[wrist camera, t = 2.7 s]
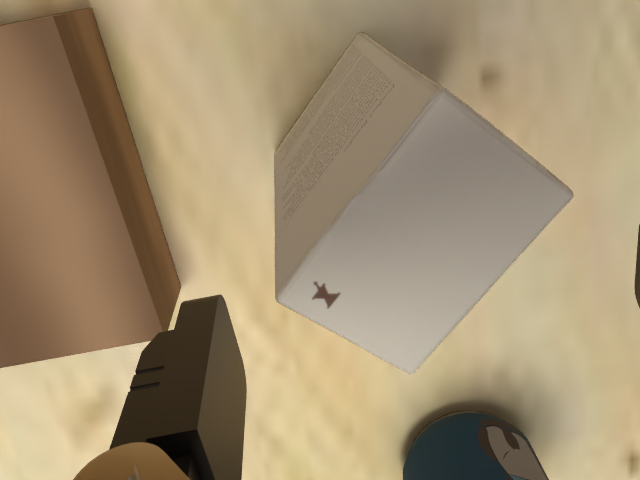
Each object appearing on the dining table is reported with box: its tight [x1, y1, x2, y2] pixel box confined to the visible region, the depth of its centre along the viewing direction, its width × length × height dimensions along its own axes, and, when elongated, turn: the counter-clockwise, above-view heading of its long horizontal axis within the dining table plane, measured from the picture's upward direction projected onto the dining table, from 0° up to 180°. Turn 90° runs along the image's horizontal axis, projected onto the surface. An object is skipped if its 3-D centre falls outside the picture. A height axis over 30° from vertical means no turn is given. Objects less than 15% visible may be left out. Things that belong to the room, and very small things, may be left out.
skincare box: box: [274, 33, 573, 374], centre depth 18 cm, size 6×4×12 cm
